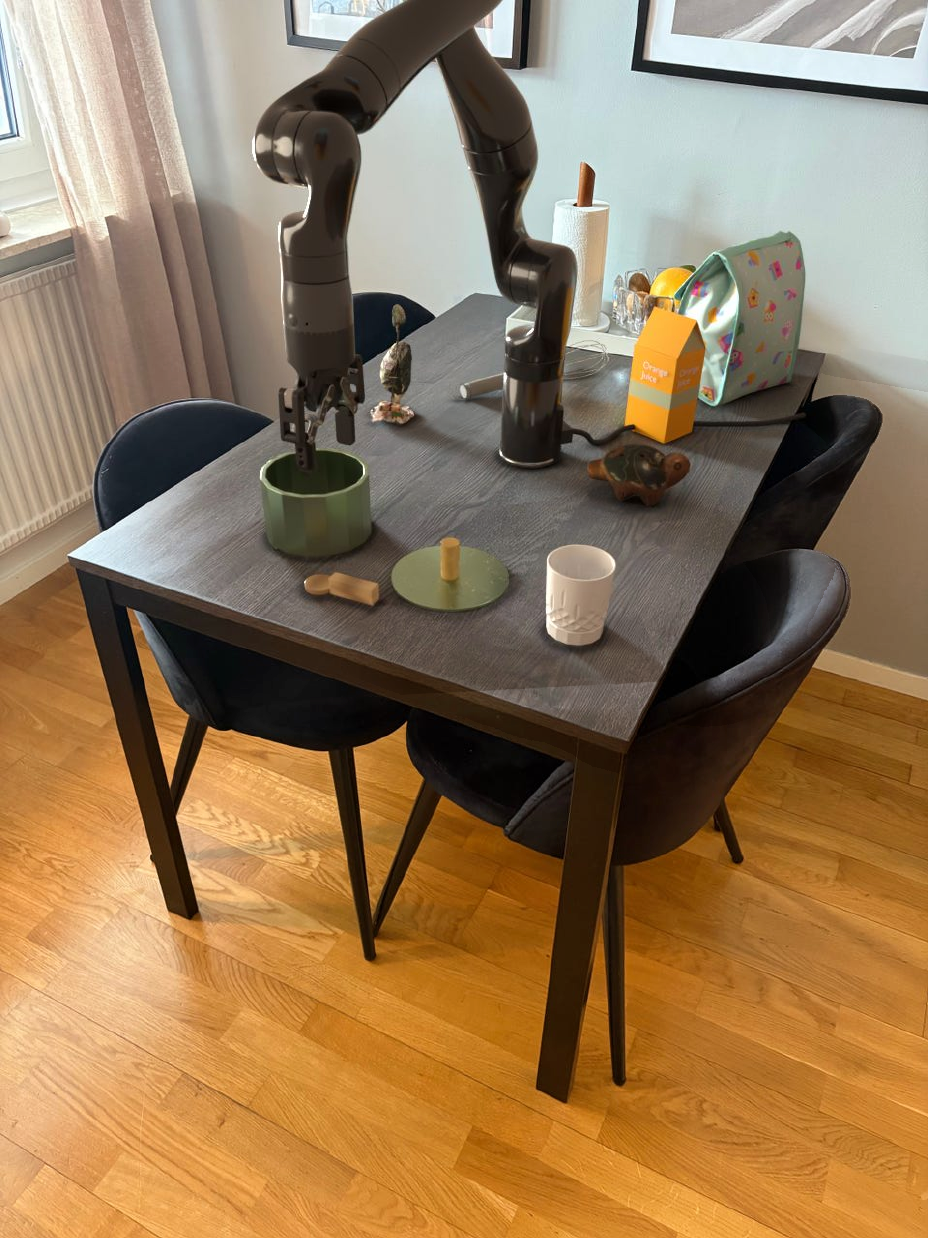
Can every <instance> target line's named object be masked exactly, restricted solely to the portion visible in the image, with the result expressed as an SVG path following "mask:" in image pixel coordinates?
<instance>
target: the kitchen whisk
mask: <svg viewBox="0 0 928 1238" xmlns="http://www.w3.org/2000/svg"><path fill="white" fill-rule="evenodd" d="M583 342H585V340H582V341H577V342H575V343H572V344H570V345H567V346H566V351H565V356H566V355H568V354H571V353H573V352H576V351H578V350H582V349H584V348H588V347H593V346H594V347H595V348H598V349H600V350H601V351H602V353H597V354H596V353H595V354H591V355H587V356H584V357H583V356H582V357H580V358H576V359H572V360H568V361H564V367H565V366H568V365H573V364H576V363H580V362H585V361H588V360H591V359H596V358H600V357H601V359H600V360H599V361H597V363H595V364H593V365H592V366H590V367H587V368H585V369H583V370H579V371H575V372H570V373H563V376H569V375H577V374H584V373H590V374H586V375H583V376H576V377H575V379H580V378H585V377H589V376H592V375H594V374H596V373H598V372H599V371H600V370H601V369H602V368H604V367H605V366H607V364H609V360H610V358H609V355H608V354H609V352H607V347H606V345H605V344H603V343H600V342H599V341H596V340H592V339H590V340H589V339H588V340H586V342H594V343H595V344H585V345H584V346H583V345H579V346H575V347H572V346H574V345H576V344H580V343H583ZM597 345H600V346H601V347H599V346H597ZM570 347H571V348H570ZM604 348H605V349H604ZM568 351H569V352H568ZM566 352H567V353H566ZM606 357H607V362H606V360H604V361H603V363H602V366H600V367H598V368H595V369H592V368H593V367H595V366H597V365H598V364H599V363H600V362H601V361H602V360H603V359H606ZM581 359H583V360H581ZM577 360H578V361H577ZM605 362H606V363H605ZM567 363H568V364H567ZM589 369H590V370H589ZM593 371H594V372H593ZM572 379H574V377H563V380H572ZM458 387H460V388H459V389H460V394H461V396H462V398H458V397H455V395H454V394H452V396H453V398H454V399H456V400H461V401H465V400H467V399H468V398H469V399H471V398H474V397H477V396H481V395H486V394H489V393H492V392H496V391H500V390H503V372H501V373H498V374H495V375H490V376H488V377H487V376H486V377H484V378H480V379H476V380H473V381H469V382H466V383H461V384H458V385H457V386H455V387H454V388H453V390H452V393H454V391H455V390H456V389H457V388H458Z"/></svg>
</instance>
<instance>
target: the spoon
mask: <svg viewBox="0 0 928 1238" xmlns="http://www.w3.org/2000/svg"><path fill="white" fill-rule="evenodd" d="M379 587H380V585H379V583H378V582H373V581H370V580H367V579H363V578H359V577H355V576H352V575H348V574H344V573H340V572H336V571H334V572H333V574H331V575H329V574H323V573H319V574H313V575H311V576H309V577H307V578H306V579H305V581H304V589H305V591H306V592H307V593H309V594H311V595H316V596H317V595H318V596H320V595H321V596H322V595H327V594H330V595H334V596H338V597H341V598H343V599H344V598H345V599H348V600H352V601H355V602H359V603H362V604H366V605H368V606H369V605H370V606H374V605H375V604H376V603H377V602H378V601H379V599H380V588H379Z"/></svg>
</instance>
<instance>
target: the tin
mask: <svg viewBox="0 0 928 1238" xmlns="http://www.w3.org/2000/svg"><path fill="white" fill-rule="evenodd" d="M316 457H317V471H316V472H314V473H313V474H309V473H305V472H301V471H299V470H298V467H297V464H296V461H297V460H296V452H295V450H292V451H287V452H285V453H283V454H279V455H277V456H276V457H272V458H271V459H269V460H268V461H267V462H266V464H264V465H263V466H262V467H261V470H260V476H259V482H260V491H261V499H262V508H263V516H264V525H265V533H266V538H267V540H268V541H267V542H268V543H269V544H270V546H271V547H272V548H273V549H275V551H278V549H279V550H280V551H282V552H285V553H287V554H290V555H295V556H300V557H306V558H314V557H331V556H336V555H339V554H344V553H348V552H350V551H352V550H355V548H358V547H359V546H362V545H363V544H365V542H366V541H367V540H368V538H369V537H370V536H371V534H372V510H371V485H370V465H369V464H368V463H367V462H366V461H365V460H364V459H363V458H362V457H361V456H360V455H357V454H354V453H352V452H349V451H347V450H343V449H342V450H341V449H336V448H329V447H320V448H319V447H316Z"/></svg>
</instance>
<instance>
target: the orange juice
mask: <svg viewBox="0 0 928 1238" xmlns="http://www.w3.org/2000/svg"><path fill="white" fill-rule="evenodd" d="M677 313H678V312H677ZM677 313H676V312H674V311H670V310H667V309H664V308H661V307H658V306H653V309H652V311H651V313H650V315H649V317H648V319H647V321H646V323H645V325H644V327H643V329H642V330H641V332H640V335H639V336H638V338H637V340H636V342H635V343H634V347H633V356H632V363H631V372H630V379H629V384H628V393H627V394H628V395H627V403H626V404H627V405H626V411H625V420H624V426H626V425H631V424H634V425H635V429H634V430H632V432H636V433H638V434H640V435H642V436H645V437H647V438H649V439H652V440H654V441H656V442H658V443H661V444H667V443H669V442H671V441H672V442H673V441H674V440H677V439H679V438H682V437H683V436H686V435H688V434H691V433H692V432H693V427H694V426H693V422H694V421H695V416H696V410H697V403H698V399H699V398H698V395H699V389H700V381H701V375H702V369H703V363H704V357H705V351H706V348H705V344H704V341H703V338H702V335H701V332H700V328H699V325H698V322H697V320H695V319H692V318H689V317H686V316H683V315H680V314H677Z"/></svg>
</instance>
